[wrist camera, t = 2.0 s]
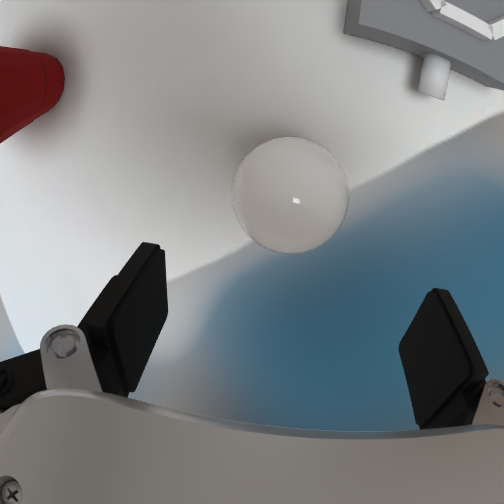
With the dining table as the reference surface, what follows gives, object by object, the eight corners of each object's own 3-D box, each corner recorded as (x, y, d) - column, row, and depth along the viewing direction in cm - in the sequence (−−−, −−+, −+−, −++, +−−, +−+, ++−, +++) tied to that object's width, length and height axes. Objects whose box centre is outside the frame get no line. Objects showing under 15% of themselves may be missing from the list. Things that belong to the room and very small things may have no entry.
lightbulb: (251, 195, 25) (229, 277, 16) (245, 118, 22) (213, 156, 13) (329, 194, 25) (352, 277, 15) (330, 117, 21) (364, 154, 12)
